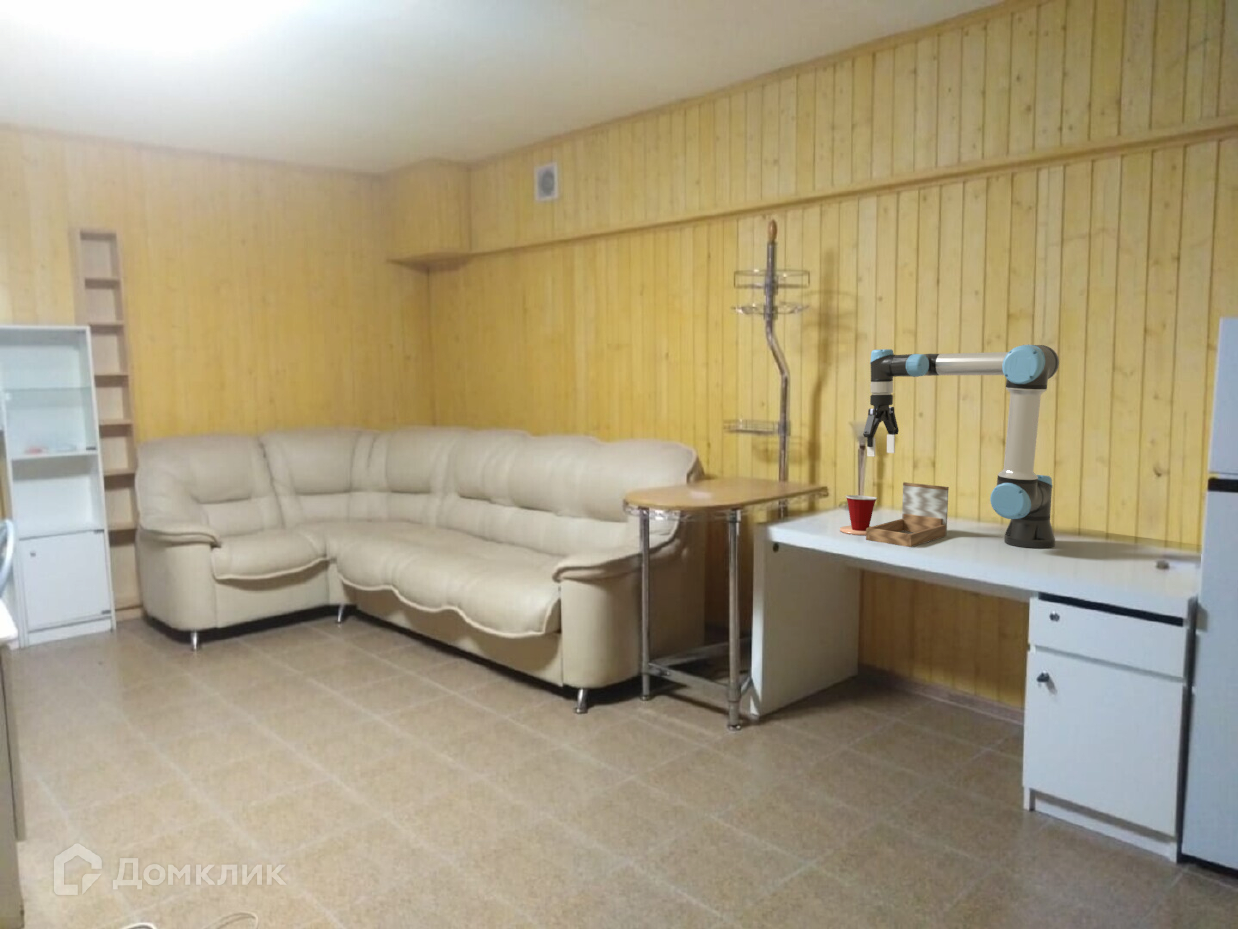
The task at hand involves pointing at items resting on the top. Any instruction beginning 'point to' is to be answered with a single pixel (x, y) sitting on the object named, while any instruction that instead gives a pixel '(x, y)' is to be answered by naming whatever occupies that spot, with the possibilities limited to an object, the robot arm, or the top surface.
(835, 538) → the top surface
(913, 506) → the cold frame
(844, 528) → the saucer
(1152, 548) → the top surface
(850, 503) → the plastic cup
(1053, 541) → the robot arm
